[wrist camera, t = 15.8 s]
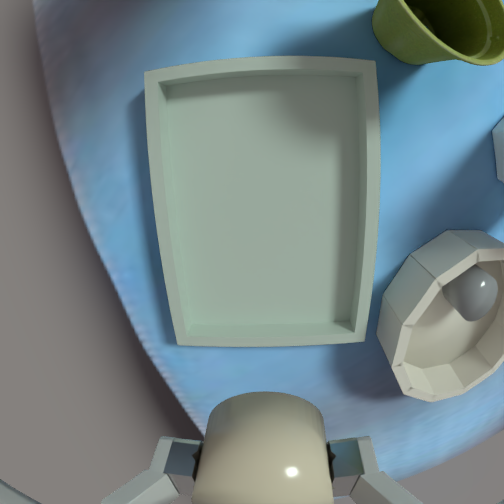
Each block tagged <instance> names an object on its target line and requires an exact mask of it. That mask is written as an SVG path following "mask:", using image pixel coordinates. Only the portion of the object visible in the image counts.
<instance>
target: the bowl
mask: <svg viewBox="0 0 504 504" xmlns="http://www.w3.org/2000/svg"><path fill="white" fill-rule="evenodd" d="M474 264H476V265H478V266H479V267H480V268H482V269H483V270H484V271H486V272H487V273H488V274H489V275H491V276H492V277H493V278H494V279H495V280H496V282H497V285H498V292H497V297H496V300H495V302H494V304H493V306H492V308H491V309H490V310H489V312H488V313H487V314H486V315H485V316H483V317H482V318H481V319H479V320H476V321H472V322H470V321H466V320H465V319H464V318H463V317H462V316H461V315H460V314H459V313H458V312H457V311H456V310H455V308H454V307H453V306H452V305H451V304H450V303H449V302H448V301H447V300H446V299H445V297H444V296H443V293H442V286H444V285H445V284H447V283H448V282H450V281H451V280H453V279H454V278H456V277H457V276H458V275H460V274H461V273H463V272H464V271H466V270H467V269H468V268H470V267H471V266H473V265H474ZM376 335H377V337H378V339H379V342H380V344H381V346H382V348H383V350H384V352H385V354H386V357H387V359H388V361H389V363H390V365H391V368H392V370H393V372H394V374H395V376H396V378H397V381H398V383H399V385H400V387H401V390H402V392H403V394H405V395H408V396H411V397H414V398H418V399H421V400H424V401H428V402H434V401H438V400H442V399H446V398H450V397H453V396H457V395H461V394H464V393H465V392H467V391H468V390H470V389H471V388H473V387H474V386H476V385H477V384H478V383H480V382H481V381H483V380H484V379H486V378H487V377H488V376H490V375H491V374H492V373H494V371H496V370H497V368H498V367H499V366H500V365H501V363H502V362H503V361H504V243H503V242H501V241H499V240H497V239H496V238H494V237H492V236H490V235H489V234H487V233H485V232H483V231H481V230H446V231H445V232H443V233H442V234H440V235H439V236H437V237H436V238H434V239H433V240H431V241H430V242H428V243H426V244H425V245H423V246H422V247H420V248H419V249H417V250H416V251H414V252H412V253H411V254H410V255H409V256H408V257H407V259H406V261H405V262H404V264H403V265H402V267H401V268H400V270H399V271H398V273H397V274H396V276H395V277H394V279H393V280H392V282H391V283H390V285H389V286H388V287H387V289H386V290H385V292H384V293H383V295H382V302H381V308H380V314H379V320H378V326H377V331H376Z"/></svg>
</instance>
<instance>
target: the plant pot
mask: <svg viewBox="0 0 504 504" xmlns="http://www.w3.org/2000/svg"><path fill="white" fill-rule="evenodd" d="M425 25H426V26H427V27H428V28H429V30H428V29H427V28H426V27H425ZM372 27H373V31H374V34H375V36H376V38H377V40H378V41H379V43H380V44H381V45H382V47H383V48H384V49H385V50H387V51H388V52H390V53H391V54H392V55H394V56H395V57H396V58H398V59H399V60H400V61H402V62H405V63H408V64H413V65H421V64H427V63H433V62H439V61H446V60H454V59H457V60H462V61H464V62H467V63H470V64H474V65H481V66H486V65H493V64H496V63H498V62H500V61H501V60H503V59H504V5H503V2H502V0H379V1H378V4H377V6H376V8H375V10H374V13H373V16H372Z"/></svg>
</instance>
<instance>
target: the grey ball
mask: <svg viewBox="0 0 504 504" xmlns="http://www.w3.org/2000/svg"><path fill="white" fill-rule="evenodd" d="M497 292H498V285H497V282H496V280H495V279H494V278H493V277H492V276H491V275H489V274H488V273H487V272H486V271H484V270H483V269H482V268H480V267H479V266H478V265H476V264H474V265H473V266H471V267H470V268H468V269H467V270H466V271H464V272H463V273H461V274H460V275H458V276H457V277H456V278H454V279H453V280H451V281H450V282H448V283H447V284H445V285H444V286H442V293H443V296H444V297H445V299H446V300H447V301H448V302H449V303H450V304H451V305H452V306H453V307H454V308H455V310H456V311H457V312H458V313H459V314H460V315H461V316H462V317H463V318H464V319H465V320H466V321H470V322H472V321H476V320H479V319H481V318H482V317H483V316H485V315H486V314H487V313H488V312H489V310H490V309H491V308H492V306H493V304H494V302H495V300H496V297H497Z"/></svg>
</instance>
